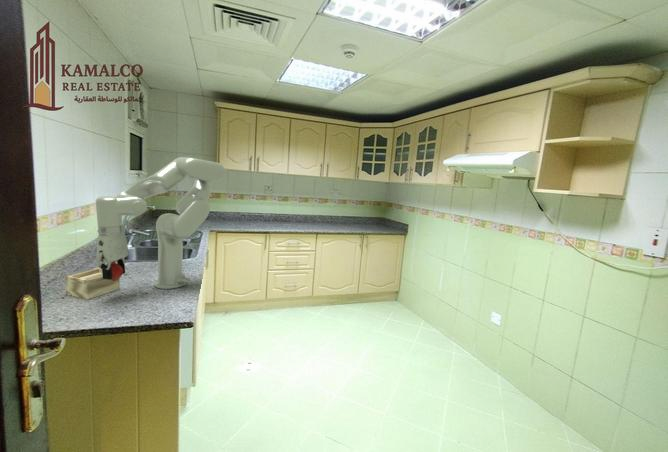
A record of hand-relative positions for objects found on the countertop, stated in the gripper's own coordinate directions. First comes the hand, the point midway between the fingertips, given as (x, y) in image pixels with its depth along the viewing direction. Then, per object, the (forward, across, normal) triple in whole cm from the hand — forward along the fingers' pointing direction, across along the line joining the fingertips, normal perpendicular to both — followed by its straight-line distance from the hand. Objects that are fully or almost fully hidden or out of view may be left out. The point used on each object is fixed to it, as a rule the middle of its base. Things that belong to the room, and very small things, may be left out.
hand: (114, 275), depth 120 cm
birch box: (+9, +3, +12) cm, 15 cm away
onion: (+2, 0, 0) cm, 2 cm away
